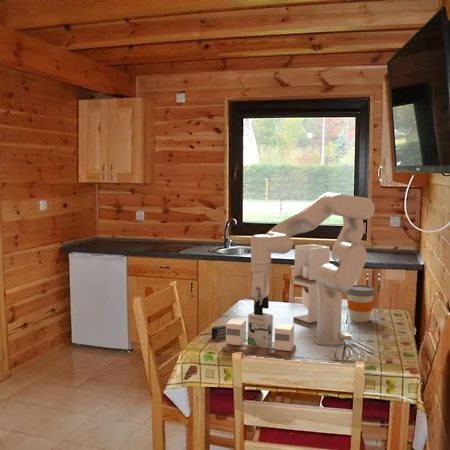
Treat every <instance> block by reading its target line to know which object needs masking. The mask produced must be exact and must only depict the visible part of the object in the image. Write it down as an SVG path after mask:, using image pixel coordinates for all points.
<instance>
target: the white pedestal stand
mask: <svg viewBox="0 0 450 450" xmlns="http://www.w3.org/2000/svg"><path fill="white" fill-rule="evenodd" d="M330 259H331V247H330V246H326V245H320V244H314V243H313V244H302V245H301V244H300V245H295V246H294V272H293V273H294V275H293V276H294V277H293V278H294V280H293V281H294V282H293V283H294V284H296V285H299V286H302V287H301V288H302V290H301V304H302V305H303V306H304V308H306V309H307V314H304V315H303V314H302V315H297V316H293V319H292V320H293V322H294V323H296V324H300V325H302V326H305V327H307V328H311V327H317V309H318V289H317V282H316V273H317V270H318V269H319V267H320V266H322V265H324V264H331V260H330Z"/></svg>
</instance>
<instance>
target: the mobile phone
mask: <svg viewBox="0 0 450 450" xmlns="http://www.w3.org/2000/svg"><path fill="white" fill-rule="evenodd" d="M211 338H212V339H213V340H218V339H217V338H219V339H226V324H225V325H219V326H213V327H211Z"/></svg>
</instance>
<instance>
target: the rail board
mask: <svg viewBox="0 0 450 450" xmlns="http://www.w3.org/2000/svg"><path fill="white" fill-rule="evenodd" d="M296 349H297V344H294V345H293V347H292V349H291V350H290V351H286V350H277V349H274V342H273V341H272V345H270V346H269V347H267V348H265V347H260V346H256V345H252V344H248V338H247V339H246V340H245V341H244V342H243V344H242V345H233V344H226V343H225V344H224V345H223V346H222V351H223V350H228V351H235V352H234V353H236V352H243V353H242V354H245V355H253V356H254V355H256V356H264V357H271V358H272V357H273V358H279V359H280V358H281V359H287V360H288V359H291V358H292V356H293V354H294V352H295V351H296ZM228 351H227V352H228Z"/></svg>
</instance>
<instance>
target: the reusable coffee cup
mask: <svg viewBox="0 0 450 450" xmlns="http://www.w3.org/2000/svg"><path fill="white" fill-rule="evenodd" d="M346 294H347V308H348V312H349V320H350V321H353V322H358V323H366V322H369V321H370V320H371V319H370V318H371V313H372V311H373V308H374V302H375V301H374V297H375V296H376V295H375V294H376V293H375V288H374V287H373V286H370V285H365V284H364V285H363V284H354V286H353V287H352V288H351V289H350V290H349V291H347V292H346Z"/></svg>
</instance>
